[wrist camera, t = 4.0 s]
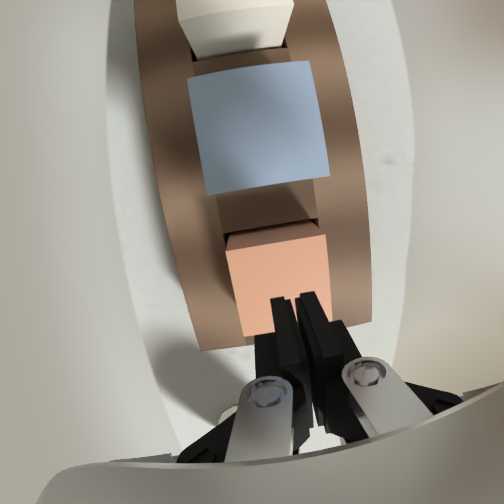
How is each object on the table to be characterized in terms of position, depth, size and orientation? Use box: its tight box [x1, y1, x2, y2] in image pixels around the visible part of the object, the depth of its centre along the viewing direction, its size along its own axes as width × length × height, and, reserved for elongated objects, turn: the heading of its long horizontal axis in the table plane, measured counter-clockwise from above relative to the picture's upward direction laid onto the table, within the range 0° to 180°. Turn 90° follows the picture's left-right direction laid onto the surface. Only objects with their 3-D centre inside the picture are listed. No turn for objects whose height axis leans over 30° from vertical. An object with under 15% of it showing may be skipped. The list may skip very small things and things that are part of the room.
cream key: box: [176, 0, 294, 61], centre depth 11 cm, size 5×5×6 cm
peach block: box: [226, 219, 332, 337], centre depth 18 cm, size 5×5×6 cm
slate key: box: [187, 61, 330, 196], centre depth 14 cm, size 5×5×6 cm
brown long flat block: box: [134, 0, 372, 351], centre depth 18 cm, size 26×12×5 cm, turn 10°
